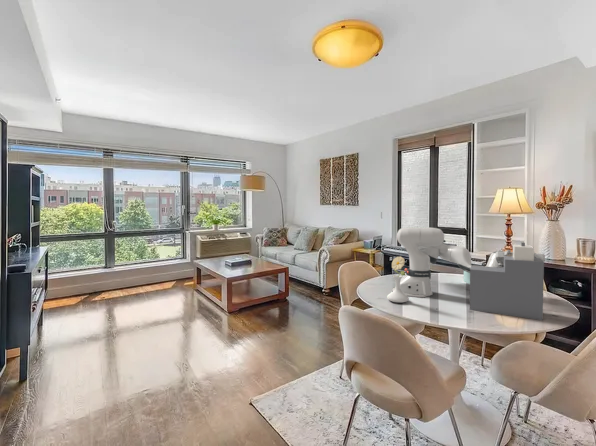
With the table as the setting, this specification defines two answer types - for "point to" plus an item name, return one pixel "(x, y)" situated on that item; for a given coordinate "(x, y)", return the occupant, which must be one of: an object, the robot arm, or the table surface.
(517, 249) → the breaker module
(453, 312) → the table surface
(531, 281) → the stand
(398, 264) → the flower in vase
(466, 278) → the mint green angled piece
